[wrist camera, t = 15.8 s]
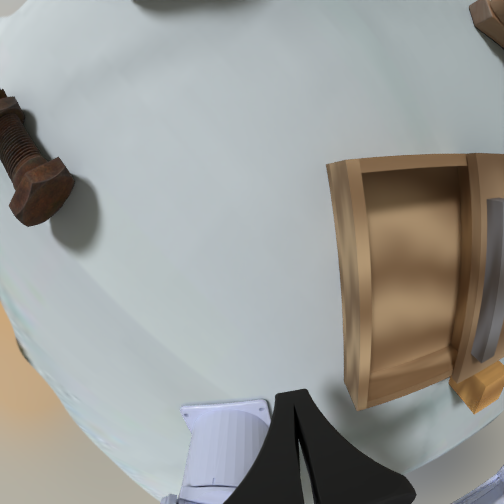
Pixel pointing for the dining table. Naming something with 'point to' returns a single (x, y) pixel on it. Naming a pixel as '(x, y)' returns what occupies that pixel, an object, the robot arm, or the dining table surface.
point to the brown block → (481, 387)
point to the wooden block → (489, 18)
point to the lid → (484, 269)
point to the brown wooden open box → (401, 270)
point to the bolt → (30, 169)
